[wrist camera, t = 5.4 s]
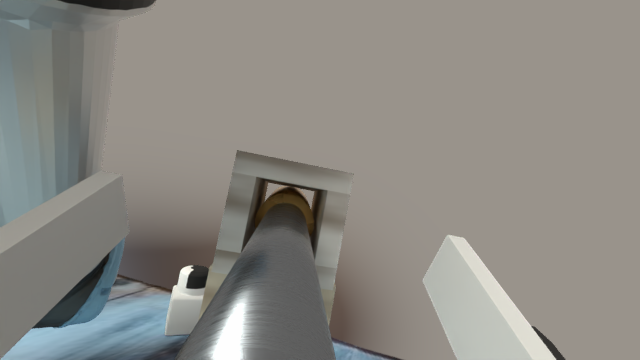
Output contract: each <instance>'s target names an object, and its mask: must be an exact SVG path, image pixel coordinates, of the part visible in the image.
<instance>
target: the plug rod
mask: <svg viewBox="0 0 640 360" xmlns="http://www.w3.org/2000/svg"><path fill="white" fill-rule="evenodd" d="M313 229H314V218H313V214H312V211H311V209H310V206H309V204H308V201H307V199H306V196H305V195H304V193H303V192H302V191H301V190H300V189H298V188H295V187H290V186H282V187H279V188H278V189H276V190H275V191H274V192H273V193H272V194H271V195H270V196H269V198H268V199H267V200H266V201H265V202H264V203H263V204H262V206H261V207H260V208H259V210H258V212H257V214H256V218H255V232H254V233H253V235H252V236H251V238H250V239H249V241H248V243H247V244H246V246H245V247H244V249H243V251H242V252H241V254H240V255H239V257H238V259H237V260H236V262H235V263H234V265H233V267H232V268H231V270H230V271H229V273H228V275H227V276H226V278H225V279H224V281H223V283H222V284H221V286H220V287H219V289H218V291H217V292H216V294H215V295H214V297H213V299H212V300H211V302H210V303H209V305H208V306H207V308H206V310H205V311H204V313H203V314H202V316H201V318H200V319H199V321H198V322H197V324H196V326H195V327H194V329H193V330H192V332H191V334H190V335H189V337H188V338H187V340H186V342H185V343H184V345H183V346H182V348H181V350H180V351H179V353H178V354H177V356H176V358H175V359H174V360H336V358H335V353H334V349H333V344H332V339H331V335H330V330H329V325H328V321H327V316H326V311H325V307H324V302H323V297H322V293H321V288H320V284H319V279H318V274H317V270H316V265H315V260H314V256H313V251H312V246H311V242H310V237H311V235H312V233H313Z"/></svg>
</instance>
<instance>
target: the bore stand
mask: <svg viewBox="0 0 640 360" xmlns="http://www.w3.org/2000/svg"><path fill="white" fill-rule="evenodd" d="M353 175H354V174H353V173H348V172H343V171H338V170H333V169H328V168H323V167H318V166H313V165H308V164H303V163H298V162H293V161H288V160H283V159H278V158H273V157H268V156H263V155H258V154H253V153H248V152H243V151H238V150H237V153H236V158H235V163H234V167H233V172H232V177H231V182H230V186H229V192H228V196H227V200H226V205H225V211H224V215H223V219H222V224H221V229H220V234H219V238H218V243H217V248H216V253H215V257H214V262H213V264H212V265H211V266H210V268H209V272H208V277H207V282H206V287H205V291H204V296H203V301H202V305H201V310H200V315H199V319H200V318H201V316H202V314H203V313H204V311H205V310H206V308H207V306H208V305H209V303H210V302H211V300H212V299H213V297H214V295H215V294H216V292H217V291H218V289H219V287H220V286H221V284H222V283H223V281H224V279H225V278H226V276H227V275H228V273H229V271H230V270H231V268H232V267H233V265H234V263H235V262H236V260H237V259H238V257H239V255H240V254H241V252H242V251H243V249H244V247H245V246H246V244H247V243H248V241H249V239H250V238H251V236H252V235H253V233H254V232H255V218H256V214H257V212H258V210H259V208H260V207H261V206H262V204H263V203H264V201H265V196H266V191H267V186H268V182H269V183H274V184H279V185H285V186H290V187H295V188H300V189H306V190H311V191H315V192H314V197H313V202H312V208H311V211H312V214H313V218H314V229H313V233H312V235H311V237H310V242H311V246H312V251H313V256H314V260H315V265H316V270H317V274H318V279H319V284H320V288H321V293H322V297H323V302H324V307H325V311H326V316H327V321H328V325H329V322H330V317H331V311H332V306H333V300H334V295H335V289H336V286H335V283H334V281H335V276H336V270H337V265H338V259H339V253H340V247H341V242H342V236H343V231H344V225H345V220H346V214H347V209H348V203H349V197H350V192H351V186H352V180H353ZM198 321H199V320H198Z"/></svg>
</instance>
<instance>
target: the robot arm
mask: <svg viewBox="0 0 640 360" xmlns="http://www.w3.org/2000/svg"><path fill="white" fill-rule="evenodd" d="M155 3H156V0H0V359H1V358H2V357H3V356H4V355H5V354H6V353H7V352H8V351H9V350H10V349H11V348H12V347H13V346H14V345H15V344H16V343H17V342H18V341H19V340H20V339H21V338H22V337H23V336H24V335H25V334H26V333H27V332H28V331H29V330H30V329H33V328H44V327H53V328H62V327H65V326H68V325H73V324H80V323H86V322H89V321H91V320H93V319H94V318H96V317H97V316H98V315H99V314H100V312H101V311H102V310H103V308H104V306H105V304H106V302H107V300H108V297H109V295H110V292H111V287H112V285H113V283H114V281H115V279H116V276H117V272H118V269H119V265H120V262H121V257H122V254H123V248H124V242H125V236H126V235H127V234H128V233H129V225H128V216H127V209H126V201H125V193H124V185H123V177H122V175H121V174H116V173H111V172H105V171H102V162H103V153H104V145H105V137H106V128H107V120H108V119H107V118H108V111H109V102H110V94H111V86H112V77H113V69H114V60H115V52H116V43H117V34H118V26H119V21H120V20H124V19H127V18H130V17H134V16H137V15H140V14H143V13H146V12H148V11H150V10H151V9H152V8H153V7H154V6H155ZM423 283H424V286H425V288H426V290H427V292H428V295H429V297H430V299H431V301H432V304H433V306H434V308H435V311H436V313H437V315H438V317H439V320H440V322H441V324H442V326H443V329H444V331H445V333H446V335H447V338H448V340H449V342H450V344H451V347H452V349H453V351H454V354H455V356H456V358H457V360H565V359H564V357H563V356H562V355H561V353H560V352H559V351H558V350H557V348H556V347H555V346H554V345H553V343H552V342H551V341H549V340H548V339H547V338H546V337H545V336H544V335H543V334H542V333H541V332H540V331H538V329H536V328H535V327H533V326H530V324H529V323H528V322H527V320H526V319H525V318H524V316H523V315H522V314H521V312H520V311H519V310H518V308H517V307H516V306H515V304H514V303H513V302H512V300H511V299H510V298H509V297H508V295H507V294H506V293H505V291H504V290H503V289H502V287H501V286H500V285H499V283H498V282H497V281H496V279H495V278H494V277H493V275H492V274H491V273H490V272H489V270H488V269H487V268H486V266H485V265H484V264H483V262H482V261H481V260H480V258H479V257H478V256H477V255H476V253H475V252H474V250H473V249H472V248H471V246H470V245H469V244H468V243H467V241H466V240H465V238H462V237H456V236H451V235H447V236H446V238H445V240H444V242H443V244H442V246H441V248H440V249H439V251H438V253H437V255H436V256H435V258H434V260H433V262H432V264H431V266H430V267H429V269H428V271H427V273H426V275H425V277H424V278H423Z"/></svg>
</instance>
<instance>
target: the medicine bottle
mask: <svg viewBox="0 0 640 360" xmlns="http://www.w3.org/2000/svg"><path fill="white" fill-rule="evenodd" d="M208 272H209V269H208V268H207V267H204V266H198V265H194V266H193V265H192V266H187V267H185V268H183V269H182V270H181V272H180V276H179V281H178V285H175V286H174V287H173V291H172V295H171V300H170V304H169V309H168V313H167V318H166V326H165V336H172V335H188V334H191V332H192V330H193V329H194V327H195V326H196V324H197V322H198V320H199V315H200V310H201V305H202V301H203V296H204V291H205V287H206V282H207V277H208Z"/></svg>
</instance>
